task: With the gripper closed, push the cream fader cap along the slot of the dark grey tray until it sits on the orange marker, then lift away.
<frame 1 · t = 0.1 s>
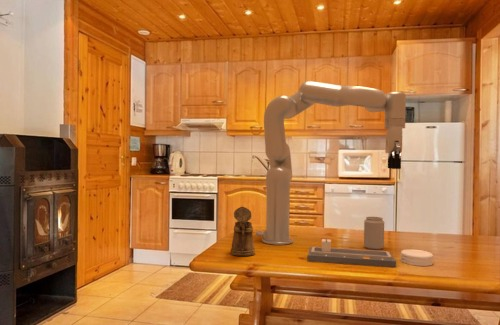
hand: (394, 168, 146), 31 cm above the table, tool pointing down, fingers open, 9 cm apart
can: (373, 248, 148), on the table
white cheese wheel: (416, 263, 128), on the table
fader cap: (326, 245, 131), point 4 cm above the table, slide at 2.0 cm
brown bell figurine: (242, 255, 134), on the table
dark grey tray: (349, 259, 130), on the table
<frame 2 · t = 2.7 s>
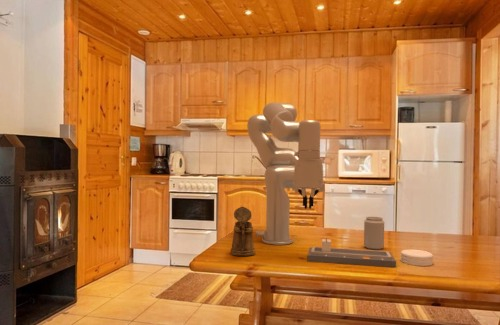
hand: (308, 208, 133), 17 cm above the table, tool pointing down, fingers closed
nothing on the table moved.
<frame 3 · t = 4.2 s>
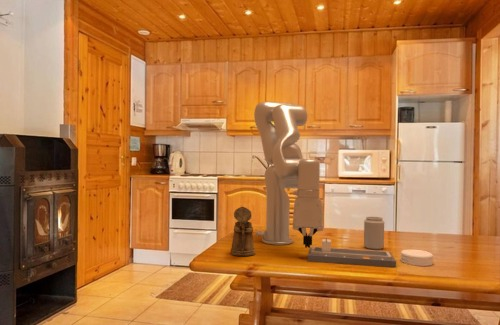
hand: (307, 246, 133), 4 cm above the table, tool pointing down, fingers closed
nothing on the table moved.
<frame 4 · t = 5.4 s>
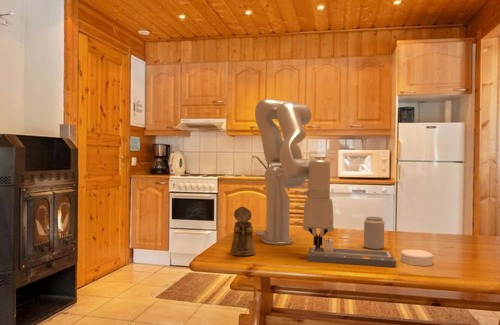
hand: (317, 247, 132), 3 cm above the table, tool pointing down, fingers closed
fader cap: (328, 245, 131), point 4 cm above the table, slide at 2.8 cm, touching gripper
everything else where it was.
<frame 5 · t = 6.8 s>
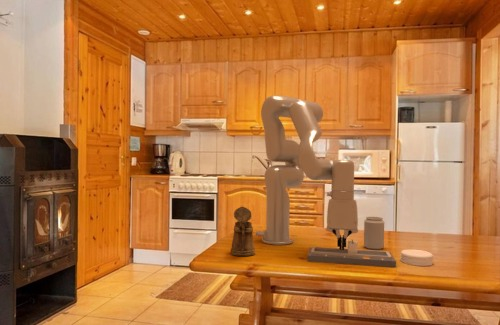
hand: (341, 248, 130), 4 cm above the table, tool pointing down, fingers closed
fader cap: (352, 247, 130), point 4 cm above the table, slide at 10.8 cm, touching gripper
everything else where it was.
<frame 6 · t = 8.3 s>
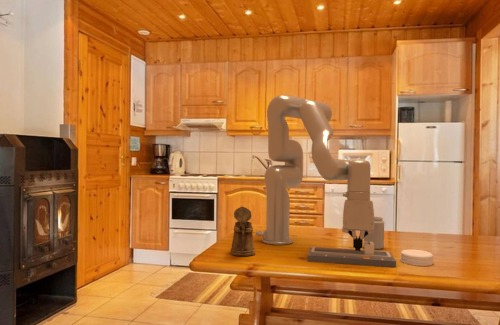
hand: (357, 250, 129), 3 cm above the table, tool pointing down, fingers closed
fader cap: (368, 248, 128), point 4 cm above the table, slide at 16.1 cm, touching gripper
everything else where it was.
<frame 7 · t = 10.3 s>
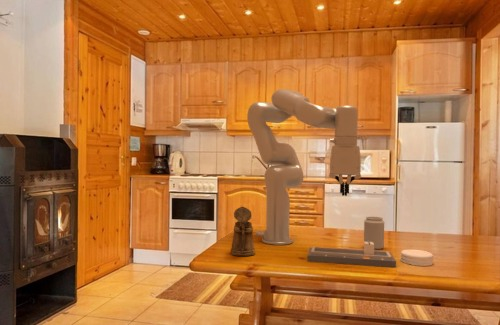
hand: (344, 195, 130), 22 cm above the table, tool pointing down, fingers closed
fader cap: (368, 248, 128), point 4 cm above the table, slide at 16.2 cm
everything else where it was.
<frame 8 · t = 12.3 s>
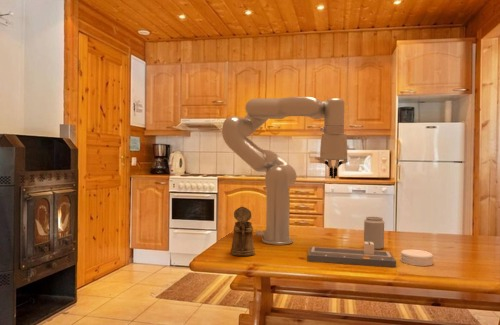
hand: (333, 178, 146), 27 cm above the table, tool pointing down, fingers closed
nothing on the table moved.
at the end: fader cap slide at 16.2 cm; the gripper is holding nothing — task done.
